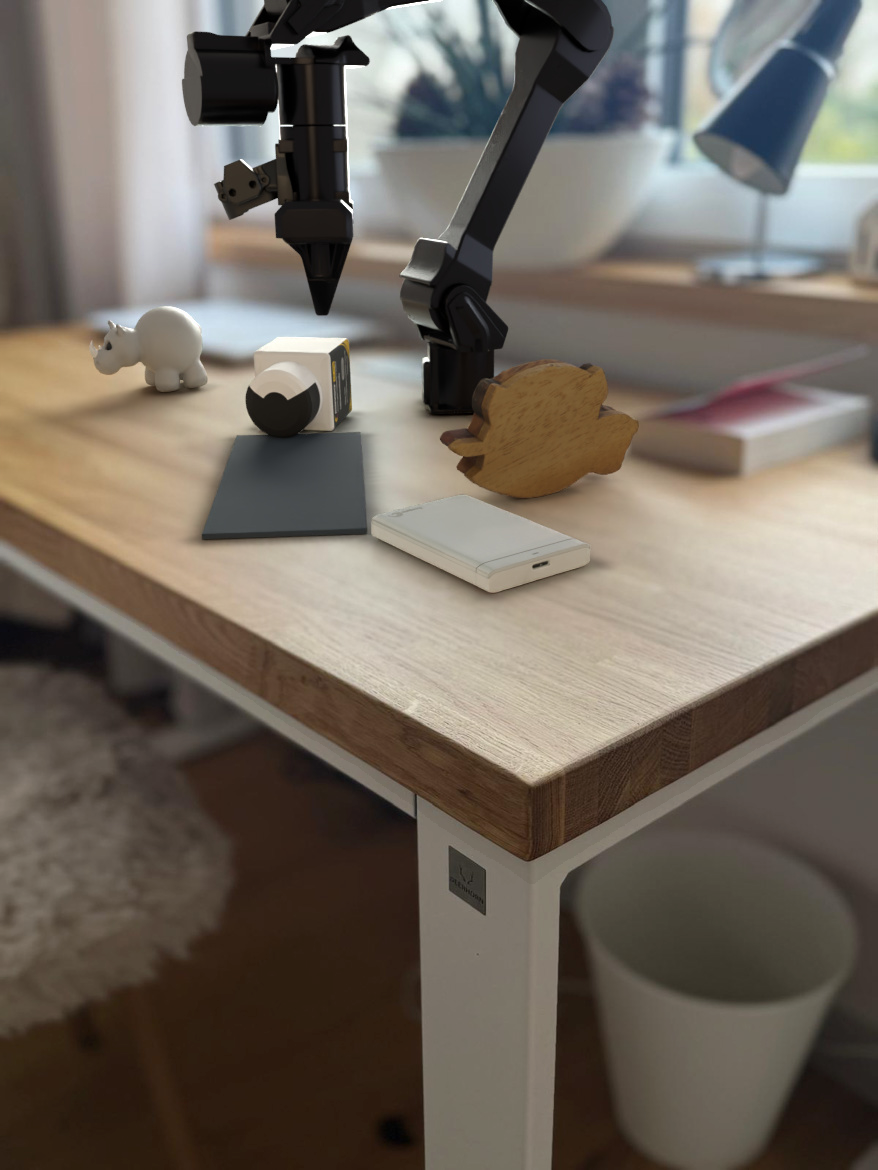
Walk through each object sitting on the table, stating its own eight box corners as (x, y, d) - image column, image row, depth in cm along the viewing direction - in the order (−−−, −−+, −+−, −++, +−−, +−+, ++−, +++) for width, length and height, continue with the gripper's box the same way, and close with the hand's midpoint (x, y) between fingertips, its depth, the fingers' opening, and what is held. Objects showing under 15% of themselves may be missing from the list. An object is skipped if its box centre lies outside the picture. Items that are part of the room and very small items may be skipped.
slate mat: (360, 436, 97) (360, 431, 97) (367, 533, 73) (367, 528, 73) (236, 439, 96) (236, 435, 96) (202, 539, 72) (201, 533, 72)
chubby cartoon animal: (86, 390, 115) (75, 309, 112) (194, 377, 121) (186, 299, 118) (104, 403, 110) (93, 317, 106) (216, 389, 115) (209, 307, 112)
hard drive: (370, 515, 71) (488, 569, 62) (467, 492, 76) (591, 539, 67) (371, 539, 72) (488, 595, 63) (467, 514, 77) (590, 564, 67)
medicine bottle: (353, 411, 105) (318, 447, 94) (282, 409, 106) (240, 444, 95) (349, 337, 102) (313, 366, 91) (277, 335, 103) (232, 363, 92)
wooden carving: (600, 467, 87) (607, 342, 83) (640, 480, 84) (648, 351, 80) (429, 503, 79) (428, 366, 75) (465, 520, 75) (465, 377, 71)
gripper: (228, 128, 99) (241, 302, 105) (202, 125, 82) (219, 334, 88) (350, 127, 100) (356, 300, 106) (349, 124, 83) (356, 331, 89)
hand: (322, 315), depth 97 cm, fingers closed
